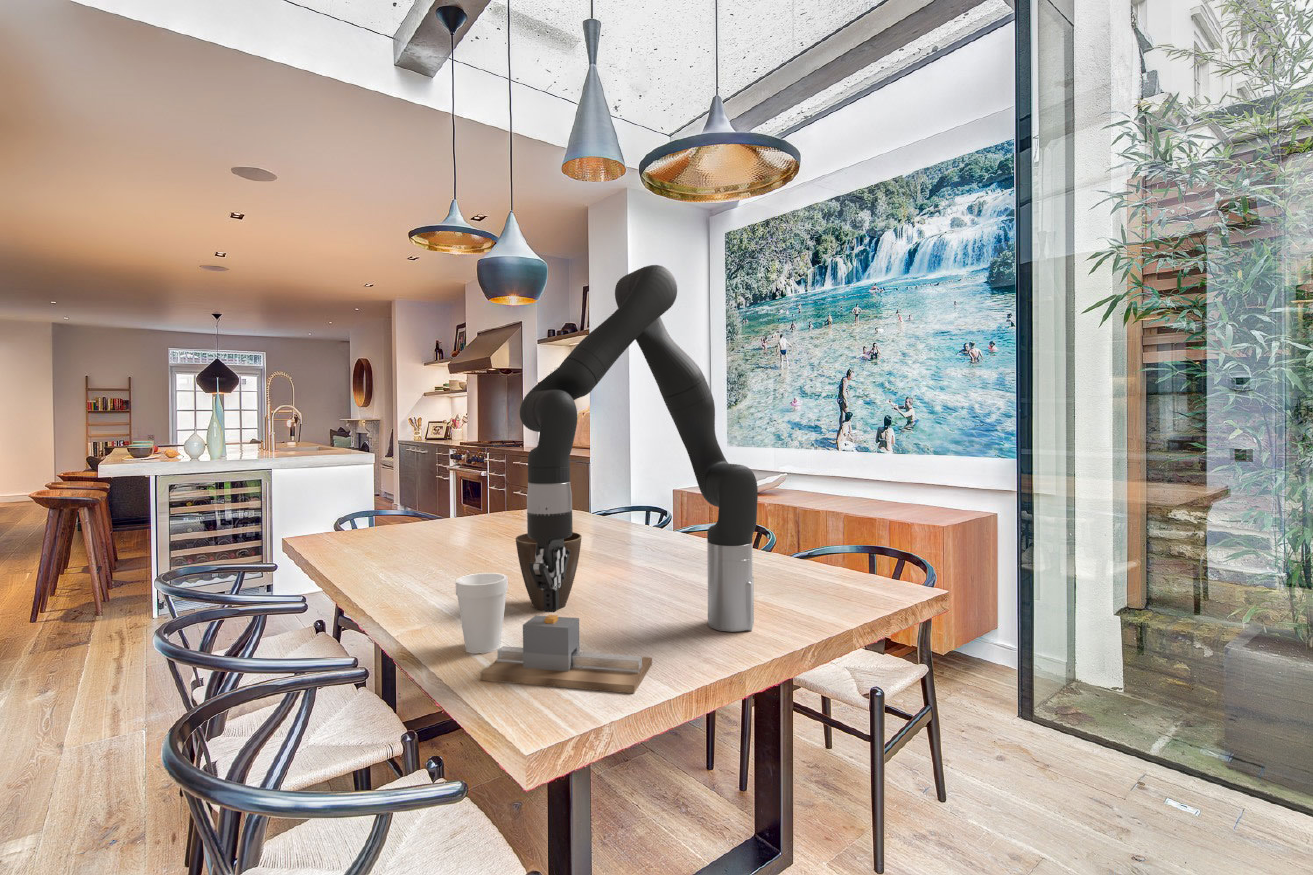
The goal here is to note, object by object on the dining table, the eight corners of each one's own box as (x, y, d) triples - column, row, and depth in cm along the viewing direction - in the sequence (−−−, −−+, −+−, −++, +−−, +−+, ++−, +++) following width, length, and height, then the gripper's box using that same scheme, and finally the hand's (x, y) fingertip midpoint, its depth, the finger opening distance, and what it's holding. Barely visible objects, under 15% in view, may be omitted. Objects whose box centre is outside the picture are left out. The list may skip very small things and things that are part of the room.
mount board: (651, 664, 112) (651, 657, 112) (634, 693, 100) (634, 685, 100) (512, 653, 118) (512, 647, 118) (480, 679, 106) (480, 672, 106)
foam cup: (481, 660, 115) (479, 587, 114) (445, 650, 120) (444, 581, 119) (519, 644, 123) (517, 576, 122) (484, 636, 128) (483, 570, 127)
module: (579, 659, 111) (579, 613, 111) (568, 671, 106) (568, 623, 106) (536, 656, 113) (535, 610, 113) (523, 667, 108) (522, 620, 108)
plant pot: (594, 607, 146) (593, 537, 146) (533, 620, 138) (532, 545, 137) (563, 593, 159) (563, 528, 158) (506, 604, 150) (505, 535, 149)
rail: (642, 667, 108) (642, 655, 108) (638, 673, 105) (638, 661, 105) (503, 656, 113) (503, 645, 113) (496, 662, 110) (496, 650, 110)
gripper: (556, 515, 102) (558, 624, 102) (583, 504, 115) (585, 601, 115) (511, 514, 103) (513, 621, 104) (544, 503, 116) (545, 599, 117)
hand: (551, 610), depth 109 cm, fingers closed
